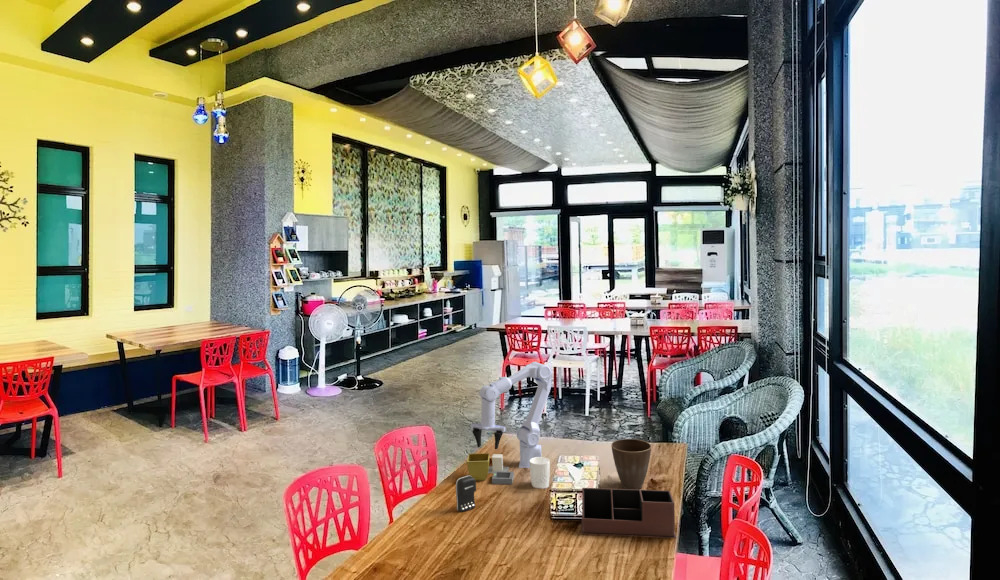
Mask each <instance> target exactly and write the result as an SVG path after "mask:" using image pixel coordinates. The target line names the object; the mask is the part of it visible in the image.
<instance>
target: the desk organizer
mask: <svg viewBox="0 0 1000 580" xmlns="http://www.w3.org/2000/svg"><path fill="white" fill-rule="evenodd" d="M581 491H582V492H581V499H582V500H581V501H582V502H581V507H582V508H581V513H582V517H581V529H580V530H581V533H580V534H581V535H599V536H622V537H639V538H640V537H644V538H661V539H662V538H664V539H665V538H666V539H667V538H668V539H677V535H676V526H675V522H676V521H675V518H676V517H675V516H676V515H675V500H674V498H673V496H672V492H671V490H660V489H659V490H658V489H637V490H634V489H626V488H603V487H600V488H599V487H597V488H596V487H582V488H581Z"/></svg>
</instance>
